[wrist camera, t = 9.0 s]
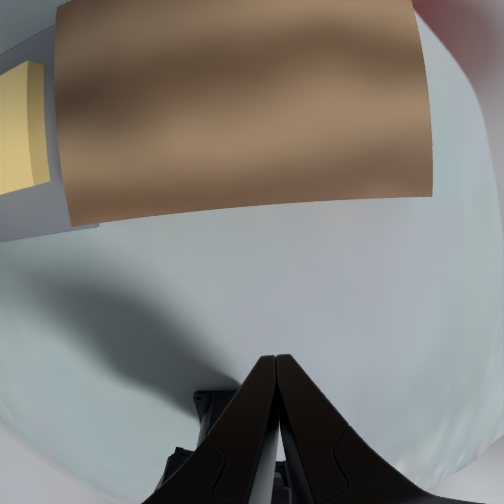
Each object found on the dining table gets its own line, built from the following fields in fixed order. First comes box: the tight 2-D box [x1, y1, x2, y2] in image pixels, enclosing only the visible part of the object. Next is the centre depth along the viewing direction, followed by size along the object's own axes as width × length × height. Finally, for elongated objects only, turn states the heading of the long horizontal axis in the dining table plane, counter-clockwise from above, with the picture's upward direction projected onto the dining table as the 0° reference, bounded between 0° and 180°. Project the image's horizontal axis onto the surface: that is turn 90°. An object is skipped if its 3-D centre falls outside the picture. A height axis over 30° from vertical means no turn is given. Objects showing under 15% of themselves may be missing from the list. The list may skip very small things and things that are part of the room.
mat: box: [0, 25, 99, 242], centre depth 17 cm, size 16×13×1 cm
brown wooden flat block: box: [54, 0, 433, 227], centre depth 15 cm, size 14×20×4 cm
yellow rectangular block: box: [0, 61, 50, 195], centre depth 16 cm, size 9×6×2 cm, turn 4°
